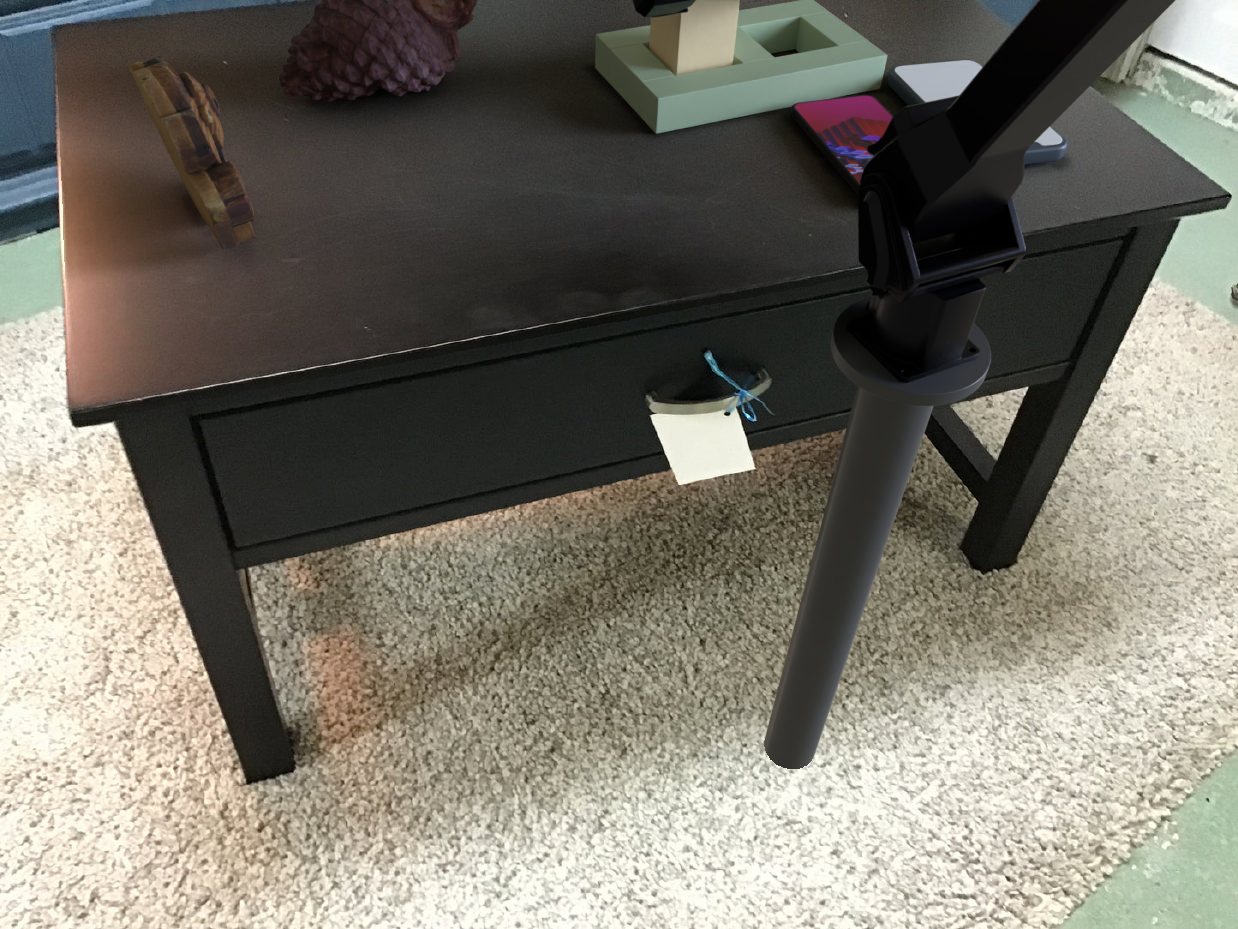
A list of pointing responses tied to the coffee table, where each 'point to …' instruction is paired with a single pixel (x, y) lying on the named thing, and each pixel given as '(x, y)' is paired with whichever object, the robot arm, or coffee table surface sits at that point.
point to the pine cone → (374, 47)
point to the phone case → (950, 81)
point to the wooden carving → (197, 148)
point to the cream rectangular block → (696, 37)
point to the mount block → (745, 68)
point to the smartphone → (844, 130)
